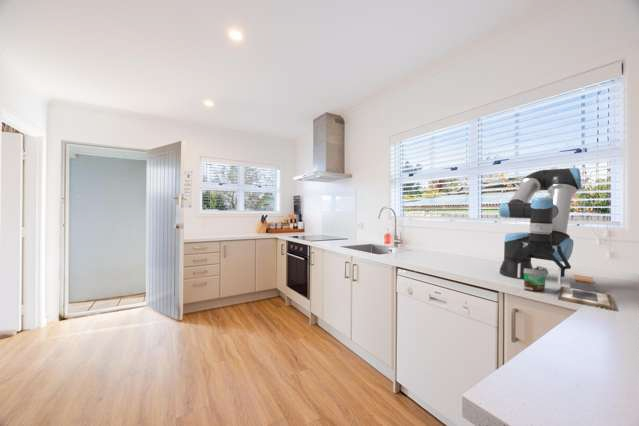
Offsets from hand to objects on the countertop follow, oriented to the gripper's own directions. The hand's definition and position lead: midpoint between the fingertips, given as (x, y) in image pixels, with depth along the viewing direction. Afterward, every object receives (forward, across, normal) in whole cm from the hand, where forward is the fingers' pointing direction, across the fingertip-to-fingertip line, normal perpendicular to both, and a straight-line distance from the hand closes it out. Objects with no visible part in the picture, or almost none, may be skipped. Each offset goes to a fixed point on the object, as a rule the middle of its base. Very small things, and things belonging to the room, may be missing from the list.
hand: (538, 280), depth 114 cm
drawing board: (+4, +14, +2) cm, 15 cm away
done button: (+3, +14, +20) cm, 25 cm away
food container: (+5, 0, 0) cm, 5 cm away
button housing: (+4, +14, +20) cm, 25 cm away
